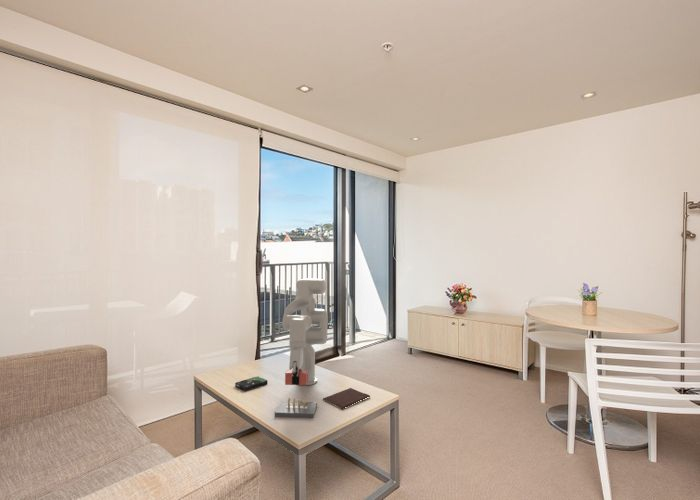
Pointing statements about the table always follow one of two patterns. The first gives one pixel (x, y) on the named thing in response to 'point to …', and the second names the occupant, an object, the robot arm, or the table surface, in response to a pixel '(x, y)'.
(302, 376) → the block
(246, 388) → the disk drive
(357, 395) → the notebook
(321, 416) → the table surface
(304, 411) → the board
